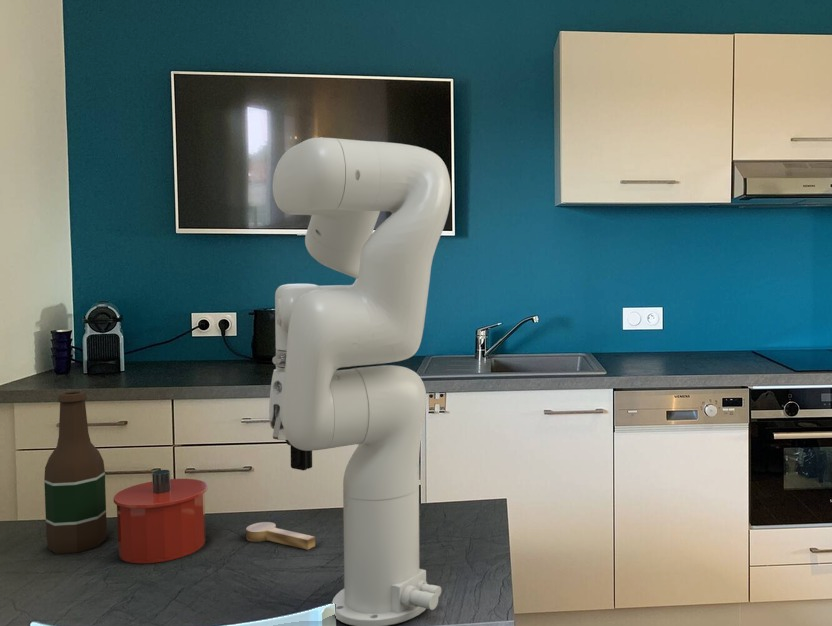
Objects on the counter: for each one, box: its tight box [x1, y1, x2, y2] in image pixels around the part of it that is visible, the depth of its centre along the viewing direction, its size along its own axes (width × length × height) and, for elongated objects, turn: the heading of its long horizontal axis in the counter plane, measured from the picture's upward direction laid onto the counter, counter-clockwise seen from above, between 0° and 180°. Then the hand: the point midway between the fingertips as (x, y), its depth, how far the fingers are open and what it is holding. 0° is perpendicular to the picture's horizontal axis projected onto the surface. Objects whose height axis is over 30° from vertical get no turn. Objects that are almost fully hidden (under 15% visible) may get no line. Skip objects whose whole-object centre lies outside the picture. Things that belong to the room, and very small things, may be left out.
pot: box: [116, 492, 207, 564], centre depth 120 cm, size 12×12×8 cm
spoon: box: [245, 521, 316, 551], centre depth 123 cm, size 13×4×2 cm, turn 65°
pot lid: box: [113, 469, 209, 508], centre depth 119 cm, size 13×13×4 cm
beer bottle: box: [43, 390, 108, 555], centre depth 120 cm, size 8×8×24 cm
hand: (301, 467), depth 129 cm, fingers closed
